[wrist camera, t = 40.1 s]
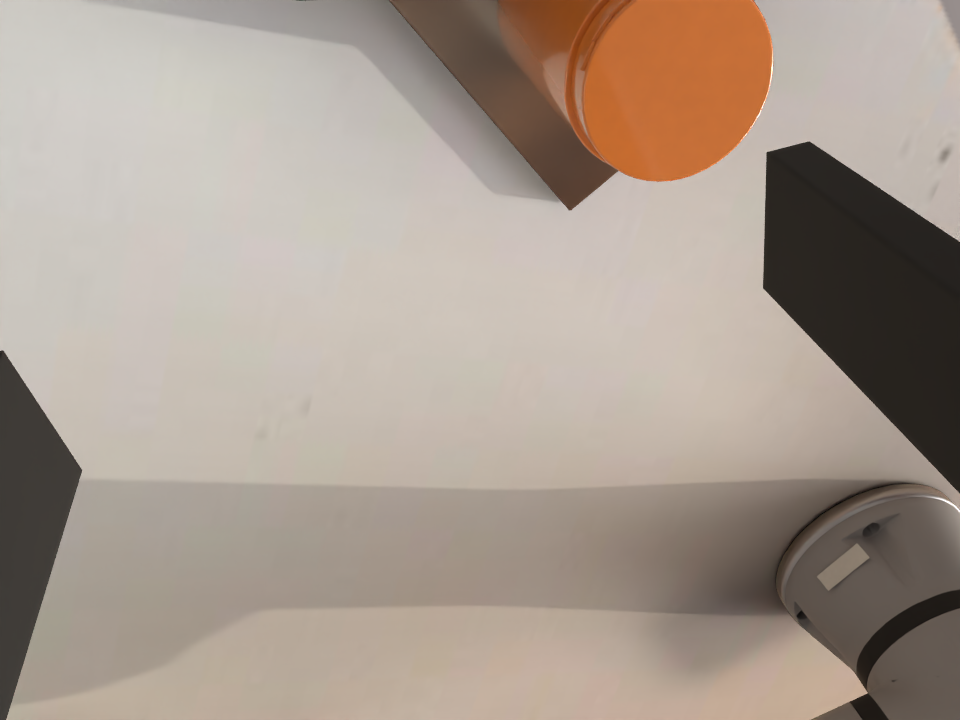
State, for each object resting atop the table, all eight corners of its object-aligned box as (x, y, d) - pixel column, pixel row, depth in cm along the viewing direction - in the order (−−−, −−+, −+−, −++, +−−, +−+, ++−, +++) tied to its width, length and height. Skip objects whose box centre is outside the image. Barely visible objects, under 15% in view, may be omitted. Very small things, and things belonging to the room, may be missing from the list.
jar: (673, -49, 36) (819, 12, 26) (609, 103, 40) (717, 208, 30) (530, -106, 34) (631, -64, 24) (475, 61, 37) (544, 159, 27)
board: (754, 45, 40) (763, 50, 40) (564, 203, 43) (570, 211, 43) (571, -272, 32) (578, -273, 31) (350, -47, 35) (351, -44, 34)
